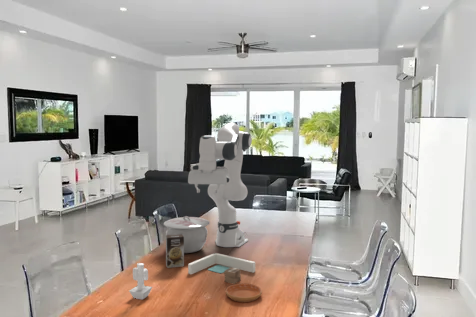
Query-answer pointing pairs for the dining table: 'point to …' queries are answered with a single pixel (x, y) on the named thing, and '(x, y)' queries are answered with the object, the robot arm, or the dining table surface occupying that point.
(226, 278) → the cube
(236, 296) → the saucer
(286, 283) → the dining table surface
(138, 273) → the figurine
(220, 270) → the pad
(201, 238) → the chamber pot
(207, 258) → the white l-shaped bracket
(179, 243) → the coffee box
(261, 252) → the dining table surface
